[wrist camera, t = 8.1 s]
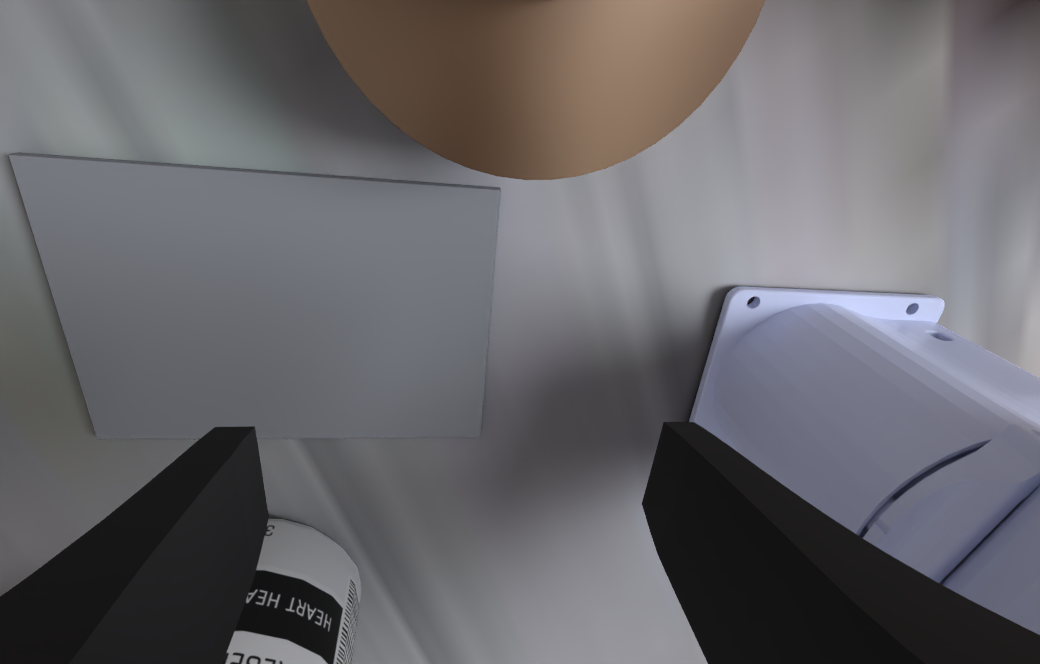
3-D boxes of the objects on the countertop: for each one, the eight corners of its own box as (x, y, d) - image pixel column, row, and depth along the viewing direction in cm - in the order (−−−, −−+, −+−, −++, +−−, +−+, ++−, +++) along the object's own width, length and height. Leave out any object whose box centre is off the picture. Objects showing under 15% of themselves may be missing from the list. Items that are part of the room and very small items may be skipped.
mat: (499, 187, 18) (500, 190, 17) (479, 431, 22) (480, 437, 22) (18, 152, 15) (8, 154, 15) (103, 432, 20) (97, 439, 20)
